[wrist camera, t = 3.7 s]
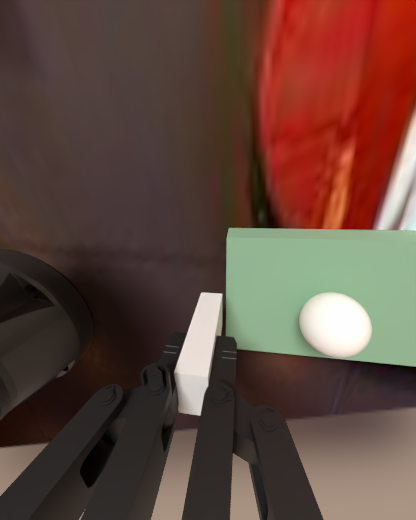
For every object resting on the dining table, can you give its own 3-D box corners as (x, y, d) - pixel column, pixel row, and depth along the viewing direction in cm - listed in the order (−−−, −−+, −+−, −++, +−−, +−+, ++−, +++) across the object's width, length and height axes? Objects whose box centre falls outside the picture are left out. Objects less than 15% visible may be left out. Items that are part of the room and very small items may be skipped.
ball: (290, 325, 17) (303, 368, 13) (297, 279, 15) (314, 315, 11) (345, 329, 16) (375, 376, 12) (359, 282, 14) (398, 321, 11)
